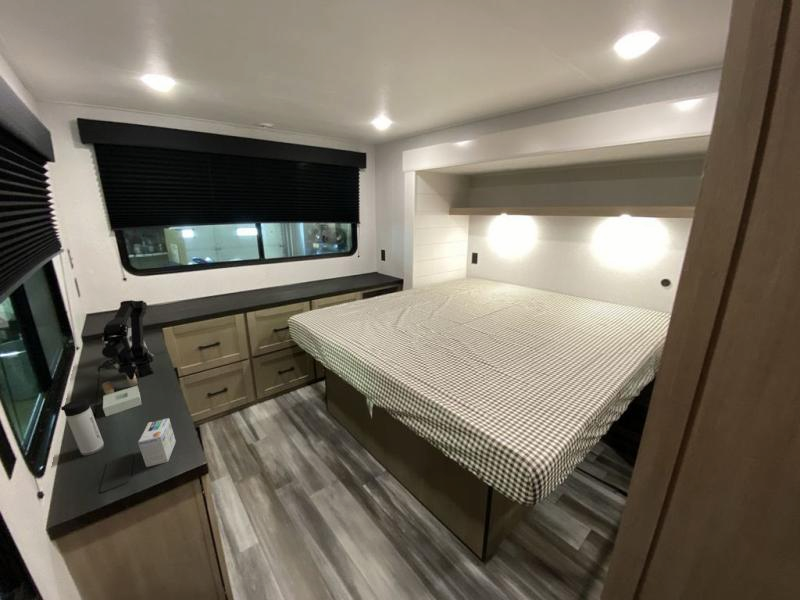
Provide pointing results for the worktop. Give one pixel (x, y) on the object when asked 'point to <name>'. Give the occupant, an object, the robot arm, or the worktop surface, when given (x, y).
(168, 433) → the light bulb box
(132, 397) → the hole block
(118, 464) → the phone
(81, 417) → the travel mug
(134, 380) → the long dowel
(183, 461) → the worktop surface
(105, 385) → the short dowel
